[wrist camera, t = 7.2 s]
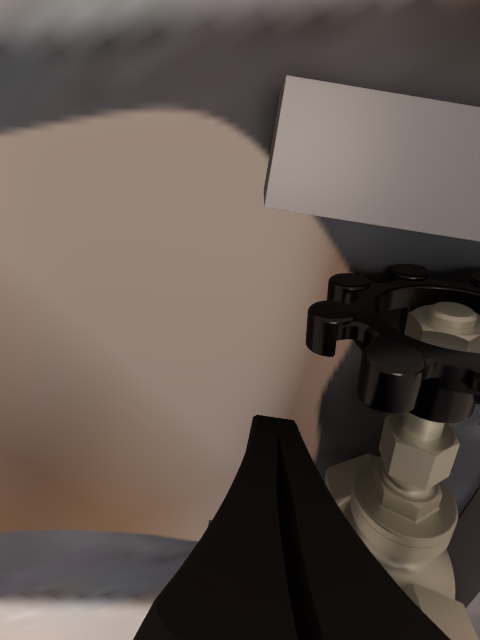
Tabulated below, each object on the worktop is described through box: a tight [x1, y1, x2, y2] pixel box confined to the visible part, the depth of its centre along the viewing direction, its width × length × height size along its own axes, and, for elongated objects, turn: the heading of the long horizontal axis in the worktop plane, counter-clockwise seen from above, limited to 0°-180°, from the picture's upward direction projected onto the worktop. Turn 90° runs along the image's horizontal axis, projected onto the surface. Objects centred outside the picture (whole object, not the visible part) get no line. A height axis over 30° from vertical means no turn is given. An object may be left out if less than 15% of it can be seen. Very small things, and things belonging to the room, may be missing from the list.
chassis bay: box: [208, 75, 480, 640], centre depth 13 cm, size 20×13×2 cm, turn 172°
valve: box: [306, 264, 480, 640], centre depth 11 cm, size 7×7×12 cm
